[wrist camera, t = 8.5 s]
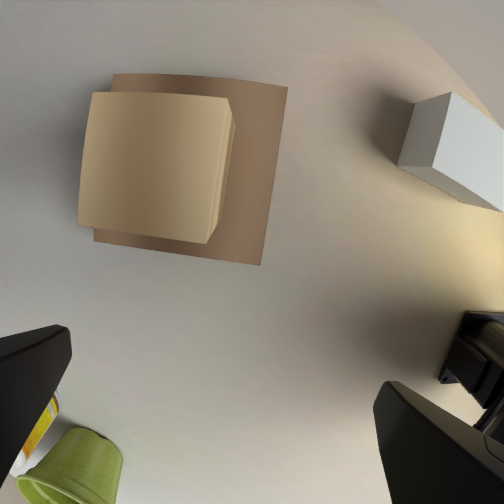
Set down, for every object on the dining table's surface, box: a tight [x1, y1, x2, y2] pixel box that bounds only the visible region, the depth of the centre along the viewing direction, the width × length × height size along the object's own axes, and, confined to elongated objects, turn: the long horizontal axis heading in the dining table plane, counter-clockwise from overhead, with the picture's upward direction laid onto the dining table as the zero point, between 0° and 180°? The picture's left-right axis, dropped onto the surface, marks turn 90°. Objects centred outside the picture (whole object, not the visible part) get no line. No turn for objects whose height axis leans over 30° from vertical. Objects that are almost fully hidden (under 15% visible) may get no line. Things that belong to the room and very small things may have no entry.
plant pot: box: [15, 428, 123, 504], centre depth 20 cm, size 9×9×9 cm
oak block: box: [77, 92, 235, 244], centre depth 12 cm, size 4×4×6 cm
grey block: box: [396, 92, 504, 213], centre depth 16 cm, size 4×4×6 cm
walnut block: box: [94, 74, 288, 266], centre depth 17 cm, size 9×9×3 cm
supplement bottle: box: [11, 391, 60, 469], centre depth 17 cm, size 6×6×10 cm
